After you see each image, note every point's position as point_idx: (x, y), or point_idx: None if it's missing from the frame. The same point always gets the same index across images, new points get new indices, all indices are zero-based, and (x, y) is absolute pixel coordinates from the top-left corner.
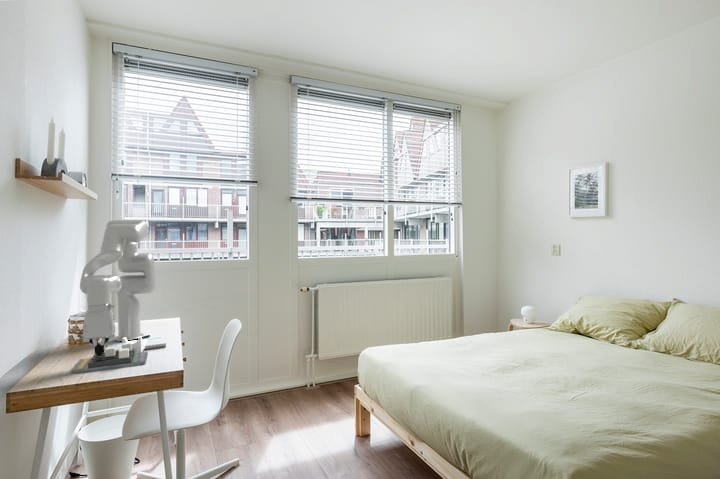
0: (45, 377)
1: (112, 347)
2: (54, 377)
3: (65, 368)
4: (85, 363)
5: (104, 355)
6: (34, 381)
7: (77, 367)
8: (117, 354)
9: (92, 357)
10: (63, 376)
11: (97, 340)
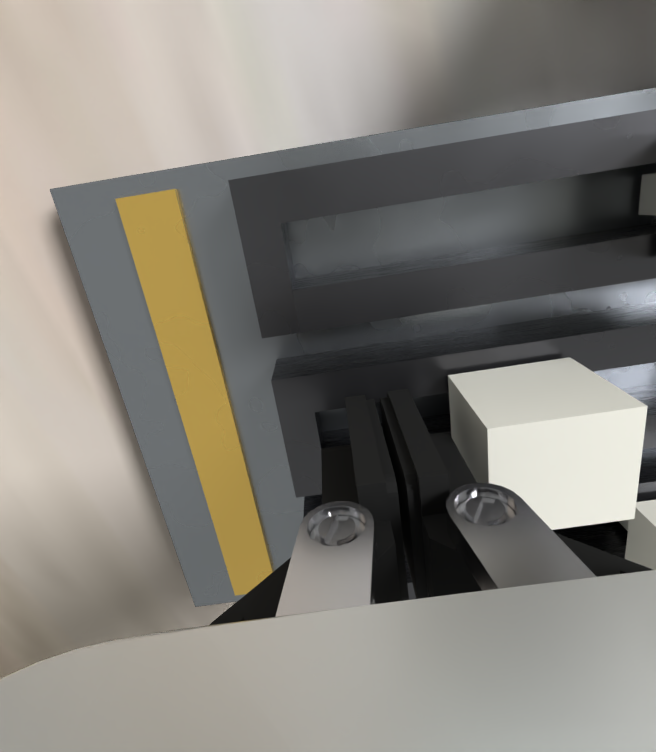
0: (27, 612)
1: (600, 453)
2: (107, 629)
3: (39, 409)
4: (235, 445)
5: (421, 357)
6: (5, 672)
7: (207, 538)
8: (593, 360)
9: (284, 415)
10: (169, 624)
11: (374, 602)
